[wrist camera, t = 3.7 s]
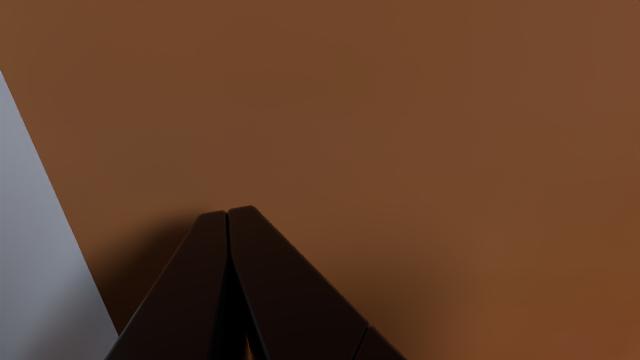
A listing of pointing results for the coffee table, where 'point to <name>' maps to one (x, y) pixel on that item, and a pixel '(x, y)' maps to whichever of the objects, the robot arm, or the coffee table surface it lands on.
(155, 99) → the coffee table surface
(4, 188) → the grey stepped block
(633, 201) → the coffee table surface
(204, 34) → the coffee table surface
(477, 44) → the coffee table surface
